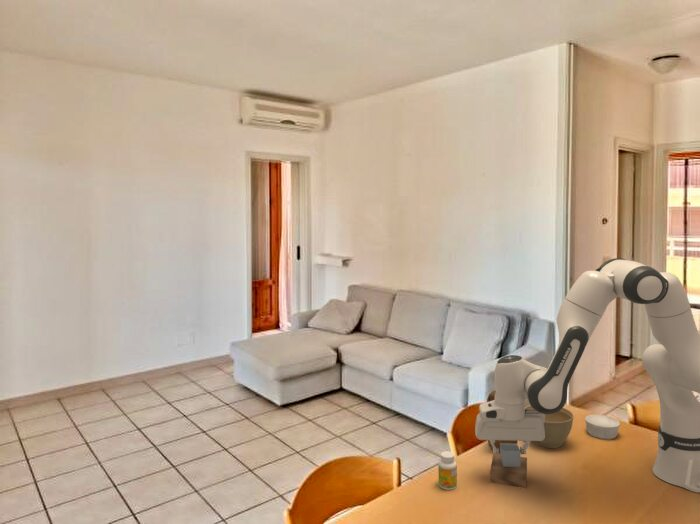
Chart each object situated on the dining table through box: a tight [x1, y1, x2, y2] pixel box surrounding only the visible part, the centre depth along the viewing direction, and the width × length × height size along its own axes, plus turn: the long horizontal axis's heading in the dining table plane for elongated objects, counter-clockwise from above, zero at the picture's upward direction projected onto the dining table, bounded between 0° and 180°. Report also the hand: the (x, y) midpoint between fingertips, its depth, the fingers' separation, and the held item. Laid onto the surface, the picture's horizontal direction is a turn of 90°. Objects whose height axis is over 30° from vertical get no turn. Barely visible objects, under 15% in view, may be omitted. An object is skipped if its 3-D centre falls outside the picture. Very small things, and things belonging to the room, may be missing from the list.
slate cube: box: [500, 443, 522, 467], centre depth 156 cm, size 5×5×5 cm
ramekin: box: [584, 414, 621, 440], centre depth 185 cm, size 11×11×5 cm
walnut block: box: [490, 453, 528, 489], centre depth 157 cm, size 10×10×5 cm
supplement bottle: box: [437, 450, 458, 491], centre depth 153 cm, size 5×5×10 cm
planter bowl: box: [525, 404, 575, 449], centre depth 179 cm, size 16×16×11 cm
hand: (509, 453), depth 156 cm, fingers open, 7 cm apart
